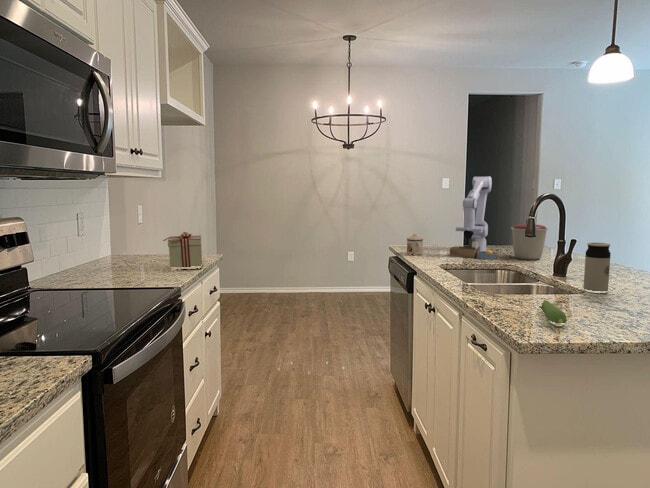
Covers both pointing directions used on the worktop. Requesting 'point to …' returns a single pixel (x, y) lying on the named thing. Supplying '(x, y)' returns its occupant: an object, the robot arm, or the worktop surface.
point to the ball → (488, 252)
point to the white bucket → (528, 242)
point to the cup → (486, 255)
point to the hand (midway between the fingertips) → (468, 244)
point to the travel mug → (597, 267)
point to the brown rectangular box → (464, 251)
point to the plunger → (473, 243)
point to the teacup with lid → (414, 245)
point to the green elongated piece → (553, 312)
